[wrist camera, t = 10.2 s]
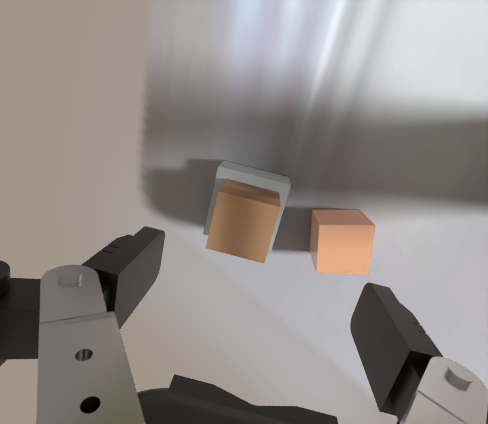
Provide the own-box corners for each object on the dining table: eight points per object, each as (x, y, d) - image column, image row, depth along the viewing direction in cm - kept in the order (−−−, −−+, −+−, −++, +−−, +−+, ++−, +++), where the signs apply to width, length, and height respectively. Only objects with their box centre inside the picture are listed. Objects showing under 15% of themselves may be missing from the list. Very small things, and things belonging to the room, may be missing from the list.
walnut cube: (278, 192, 28) (280, 207, 23) (265, 239, 29) (264, 263, 25) (227, 178, 28) (218, 191, 23) (215, 227, 30) (205, 247, 25)
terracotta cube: (359, 209, 32) (375, 225, 27) (354, 252, 34) (369, 274, 29) (312, 209, 32) (319, 224, 28) (309, 251, 34) (316, 273, 29)
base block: (288, 177, 31) (291, 185, 28) (270, 236, 34) (270, 251, 30) (224, 160, 31) (218, 166, 28) (210, 220, 34) (203, 233, 30)
